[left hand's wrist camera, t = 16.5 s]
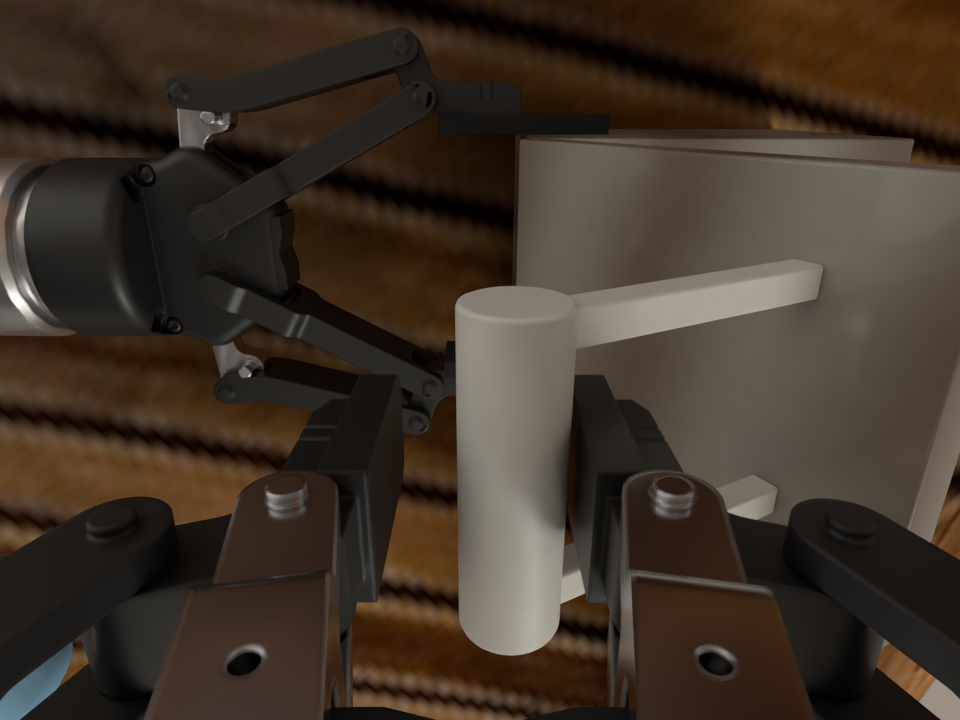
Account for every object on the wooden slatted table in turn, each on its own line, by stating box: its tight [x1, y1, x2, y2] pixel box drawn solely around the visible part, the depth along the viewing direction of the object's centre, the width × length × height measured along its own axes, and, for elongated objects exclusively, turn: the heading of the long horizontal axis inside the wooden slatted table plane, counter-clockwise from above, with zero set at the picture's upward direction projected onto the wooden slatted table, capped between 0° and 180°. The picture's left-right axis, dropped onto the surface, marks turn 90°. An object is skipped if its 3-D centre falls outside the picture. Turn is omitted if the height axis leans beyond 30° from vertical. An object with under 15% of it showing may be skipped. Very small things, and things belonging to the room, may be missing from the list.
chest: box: [512, 129, 914, 286], centre depth 28 cm, size 13×10×11 cm
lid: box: [455, 139, 960, 655], centre depth 15 cm, size 14×10×9 cm
